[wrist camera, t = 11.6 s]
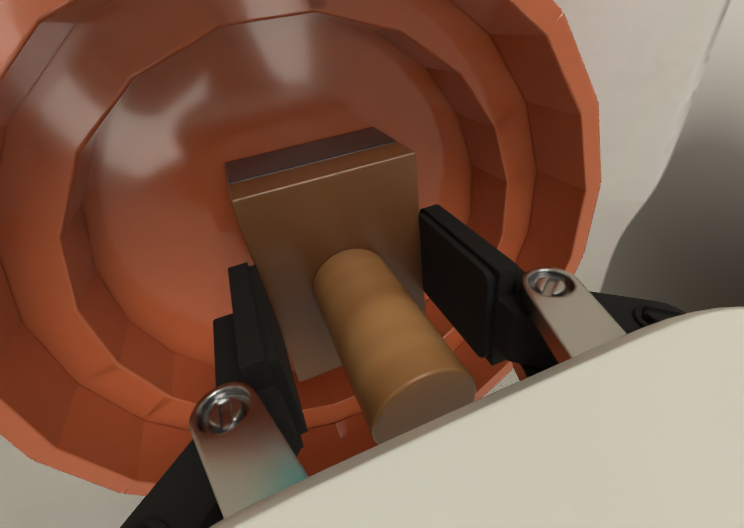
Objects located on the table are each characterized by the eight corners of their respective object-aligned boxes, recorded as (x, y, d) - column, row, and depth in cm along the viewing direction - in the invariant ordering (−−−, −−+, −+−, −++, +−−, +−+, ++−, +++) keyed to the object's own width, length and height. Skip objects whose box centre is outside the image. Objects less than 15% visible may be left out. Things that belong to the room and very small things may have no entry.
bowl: (-199, -21, 8) (-627, -68, 4) (518, -93, 12) (683, -153, 8) (169, 442, 17) (160, 564, 14) (488, 317, 21) (553, 384, 17)
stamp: (223, 162, 12) (253, 336, 5) (373, 125, 13) (552, 232, 6) (282, 325, 16) (341, 538, 9) (393, 287, 17) (514, 452, 10)
